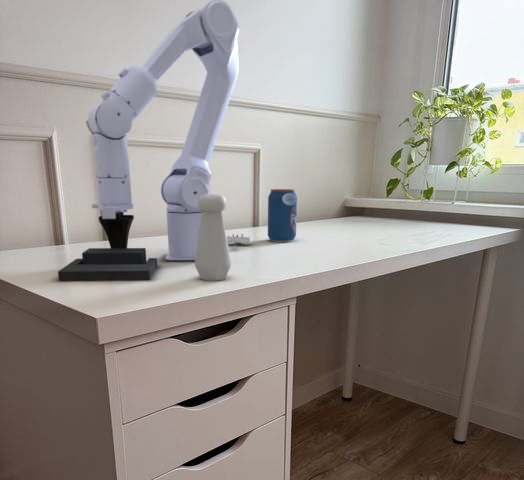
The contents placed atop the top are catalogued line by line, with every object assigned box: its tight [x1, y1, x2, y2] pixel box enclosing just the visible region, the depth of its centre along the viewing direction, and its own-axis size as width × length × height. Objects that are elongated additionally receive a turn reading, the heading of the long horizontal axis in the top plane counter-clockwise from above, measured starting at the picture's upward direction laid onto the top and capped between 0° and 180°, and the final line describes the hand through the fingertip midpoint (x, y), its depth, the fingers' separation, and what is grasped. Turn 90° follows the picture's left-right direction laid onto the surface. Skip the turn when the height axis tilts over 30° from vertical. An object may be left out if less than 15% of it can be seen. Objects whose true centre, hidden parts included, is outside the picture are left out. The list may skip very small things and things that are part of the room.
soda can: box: [267, 188, 298, 243], centre depth 125 cm, size 7×7×12 cm
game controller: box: [226, 233, 251, 248], centre depth 117 cm, size 6×12×3 cm, turn 16°
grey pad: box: [81, 247, 147, 265], centre depth 91 cm, size 10×6×3 cm, turn 95°
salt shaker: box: [194, 193, 232, 282], centre depth 81 cm, size 6×6×13 cm
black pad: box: [57, 257, 158, 282], centre depth 86 cm, size 14×12×2 cm
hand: (119, 256), depth 95 cm, fingers closed
